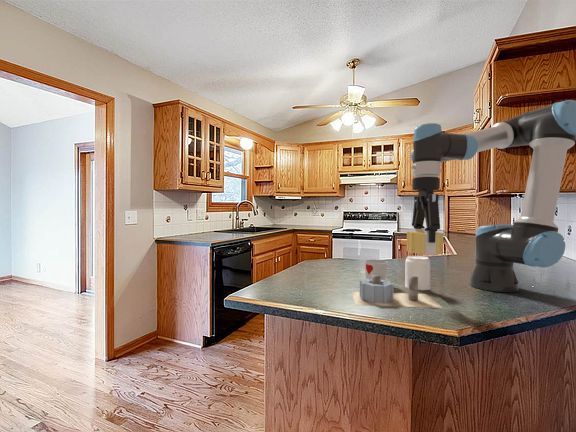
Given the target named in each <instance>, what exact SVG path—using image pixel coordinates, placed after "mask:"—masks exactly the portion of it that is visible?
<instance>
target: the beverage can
mask: <svg viewBox="0 0 576 432" xmlns="http://www.w3.org/2000/svg"><path fill="white" fill-rule="evenodd" d="M404 263H405V266H404V268H405V270H404V272H405V273H404V274H405V275H404V276H405V277H404V278H405V280H404V286H405V288H407V289H409V276H417V277H418V291H427V290H429V291H430V290H431V260H430V257H427V256H423V255H422V256H420V255H407V256H406V259H405V262H404Z"/></svg>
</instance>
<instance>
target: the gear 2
mask: <svg viewBox="0 0 576 432" xmlns="http://www.w3.org/2000/svg"><path fill="white" fill-rule="evenodd" d="M425 232H426V231H424V232H416V231H414V230H413V231H406V244H405V245H406V251H405V252H408V253H410V254H416V255H417V254H419V255H426V254H425ZM443 253H444V233H443V232H442V233H441V232H438V231H436V254H431V255H433V256H434V255H435V256H437V255H443Z"/></svg>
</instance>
